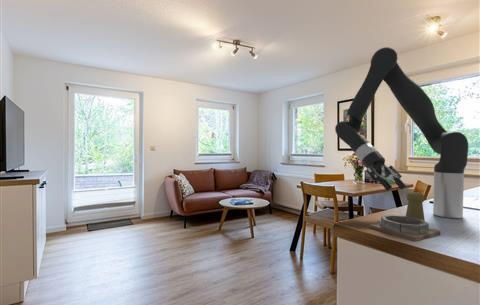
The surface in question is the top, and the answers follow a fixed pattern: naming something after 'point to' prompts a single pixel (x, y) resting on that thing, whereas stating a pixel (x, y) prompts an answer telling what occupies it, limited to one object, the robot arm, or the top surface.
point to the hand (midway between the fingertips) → (397, 188)
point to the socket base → (405, 235)
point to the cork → (415, 205)
